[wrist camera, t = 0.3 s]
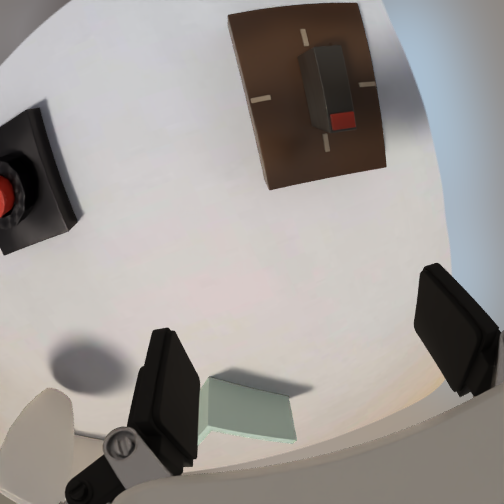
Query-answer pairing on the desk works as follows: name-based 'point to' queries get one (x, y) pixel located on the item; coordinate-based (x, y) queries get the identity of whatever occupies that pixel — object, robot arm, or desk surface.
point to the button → (6, 196)
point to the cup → (39, 451)
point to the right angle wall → (244, 412)
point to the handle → (327, 89)
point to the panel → (293, 93)
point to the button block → (31, 185)
